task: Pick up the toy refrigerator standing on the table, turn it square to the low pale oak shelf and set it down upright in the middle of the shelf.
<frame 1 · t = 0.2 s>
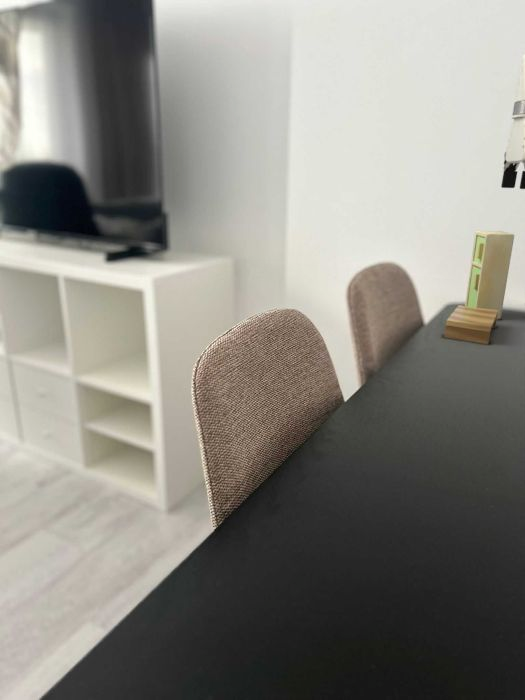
hand: (516, 188, 125), 31 cm above the table, tool pointing down, fingers open, 9 cm apart
oak shelf: (470, 331, 118), on the table
toy refrigerator: (479, 316, 132), on the table
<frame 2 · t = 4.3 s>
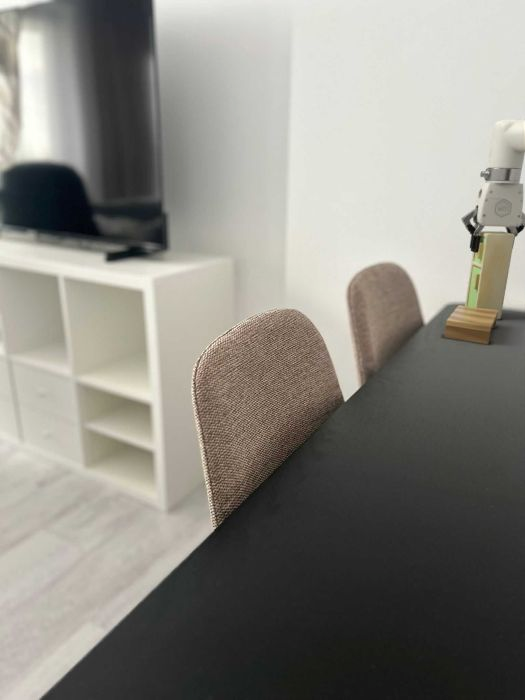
hand: (490, 251, 127), 16 cm above the table, tool pointing down, fingers closed on toy refrigerator, 7 cm apart
toy refrigerator: (479, 316, 132), on the table, touching gripper
when the fingers open (20 cm above the table, at t = 11.4 s): toy refrigerator stays where it is, resting on oak shelf.
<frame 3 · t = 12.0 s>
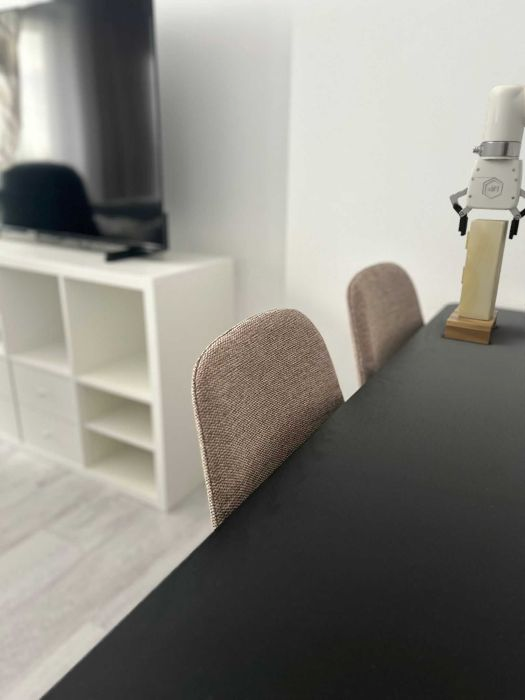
hand: (486, 237, 111), 21 cm above the table, tool pointing down, fingers open, 9 cm apart
toy refrigerator: (473, 315, 117), point 4 cm above the table, touching oak shelf
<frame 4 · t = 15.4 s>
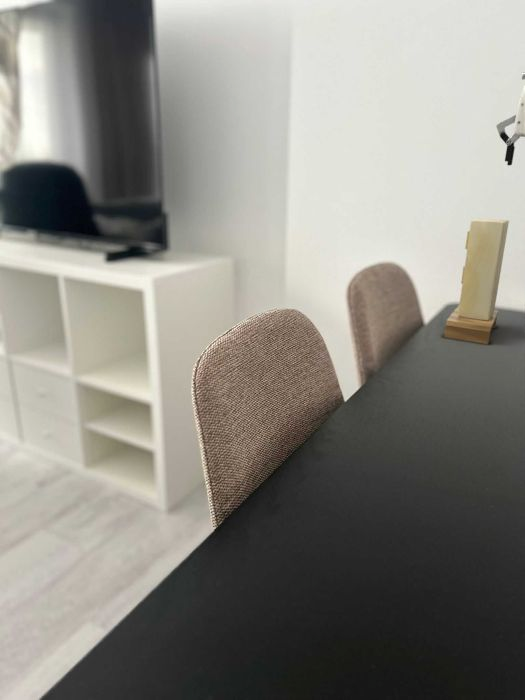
nothing on the table moved.
at the end: toy refrigerator 0.1 cm off-centre on the oak shelf, point 3.8 cm above the oak shelf's base; toy refrigerator tilted 0°; the gripper is holding nothing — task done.
